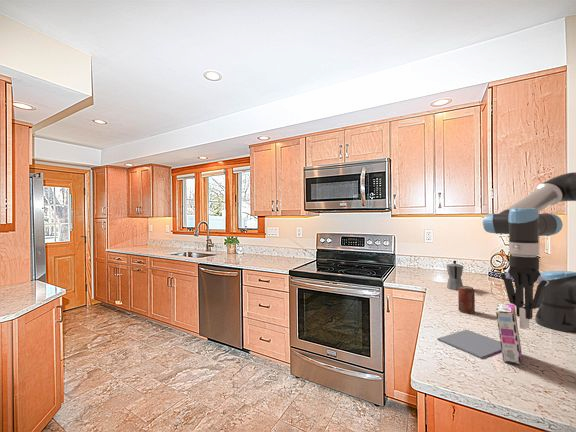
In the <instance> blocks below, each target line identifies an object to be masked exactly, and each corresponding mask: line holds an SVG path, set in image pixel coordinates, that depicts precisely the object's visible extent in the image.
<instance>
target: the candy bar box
mask: <svg viewBox="0 0 576 432" xmlns="http://www.w3.org/2000/svg"><path fill="white" fill-rule="evenodd" d="M495 314H496V322H497V328H498V334H499V335H498V336H499V341H500V342H501V349H502V351H501V353H502V354H501V355H502V362H504V363H509V364H515V365H522V354H523V353H522V346H521V340H520V339H521V338H520V334H519V333H520V332H519V327H518V321H517V320H518V319H517V314H516V305H514V304H511V303H509V304H508V303H507V304H506V303H498V304H497V307H496V309H495Z"/></svg>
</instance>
